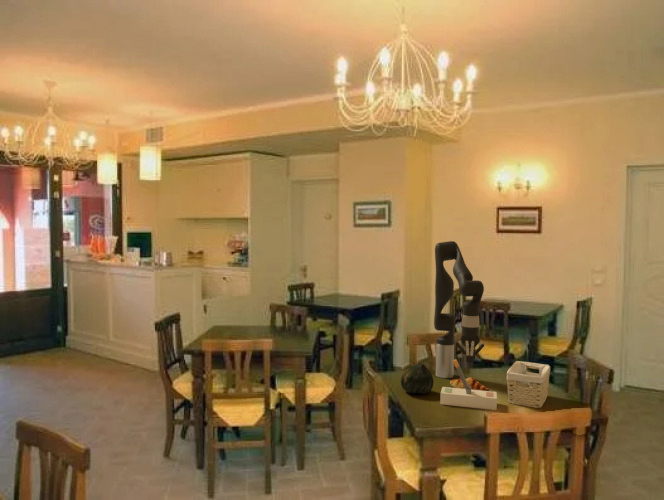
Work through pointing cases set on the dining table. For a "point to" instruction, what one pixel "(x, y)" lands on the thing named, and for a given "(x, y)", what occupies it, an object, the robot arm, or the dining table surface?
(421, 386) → the squash
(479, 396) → the switch block
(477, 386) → the croissant
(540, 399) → the storage basket
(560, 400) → the dining table surface
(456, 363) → the lever
